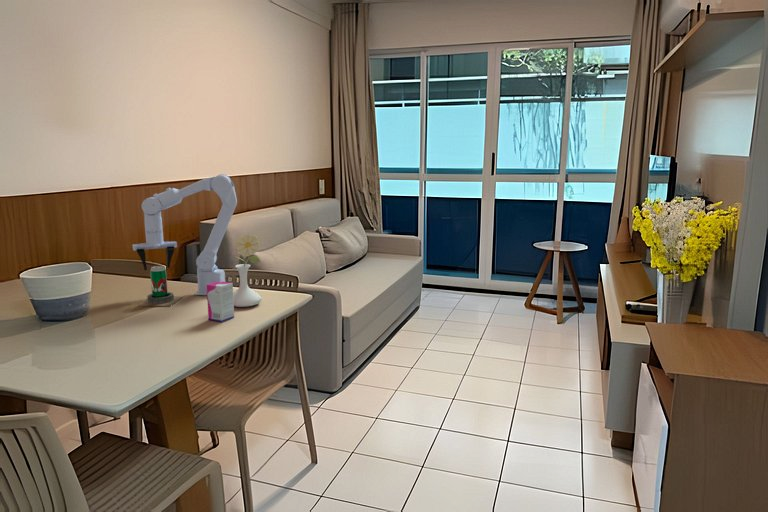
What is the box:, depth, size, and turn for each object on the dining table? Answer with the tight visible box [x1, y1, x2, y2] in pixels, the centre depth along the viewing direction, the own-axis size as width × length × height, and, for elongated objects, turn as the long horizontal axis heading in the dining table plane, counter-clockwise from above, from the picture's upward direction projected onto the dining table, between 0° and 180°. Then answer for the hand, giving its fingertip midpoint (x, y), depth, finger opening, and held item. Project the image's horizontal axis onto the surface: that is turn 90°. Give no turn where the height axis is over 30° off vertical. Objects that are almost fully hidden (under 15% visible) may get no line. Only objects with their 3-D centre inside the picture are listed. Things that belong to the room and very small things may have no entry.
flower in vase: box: [233, 233, 262, 308], centre depth 178 cm, size 13×11×25 cm
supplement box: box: [206, 281, 235, 323], centre depth 165 cm, size 6×6×12 cm
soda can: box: [149, 265, 169, 298], centre depth 182 cm, size 5×5×12 cm
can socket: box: [137, 291, 184, 308], centre depth 183 cm, size 11×11×2 cm
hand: (157, 268), depth 190 cm, fingers open, 7 cm apart
